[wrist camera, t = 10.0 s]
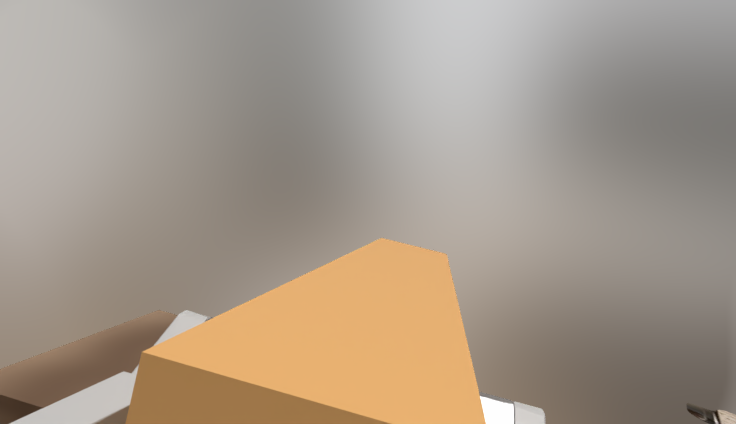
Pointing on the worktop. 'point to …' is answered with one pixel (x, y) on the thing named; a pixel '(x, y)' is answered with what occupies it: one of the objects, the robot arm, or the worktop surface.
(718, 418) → the worktop surface
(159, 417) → the orange block
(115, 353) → the walnut stand
